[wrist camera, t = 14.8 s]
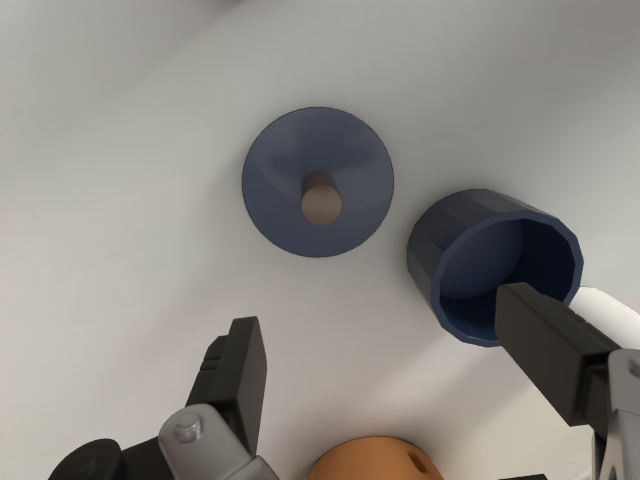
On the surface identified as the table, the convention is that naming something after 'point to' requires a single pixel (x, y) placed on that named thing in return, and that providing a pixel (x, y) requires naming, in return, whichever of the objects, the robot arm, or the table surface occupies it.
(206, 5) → the table surface
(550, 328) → the robot arm
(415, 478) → the flower pot
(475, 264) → the pot
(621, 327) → the can
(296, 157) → the lid
